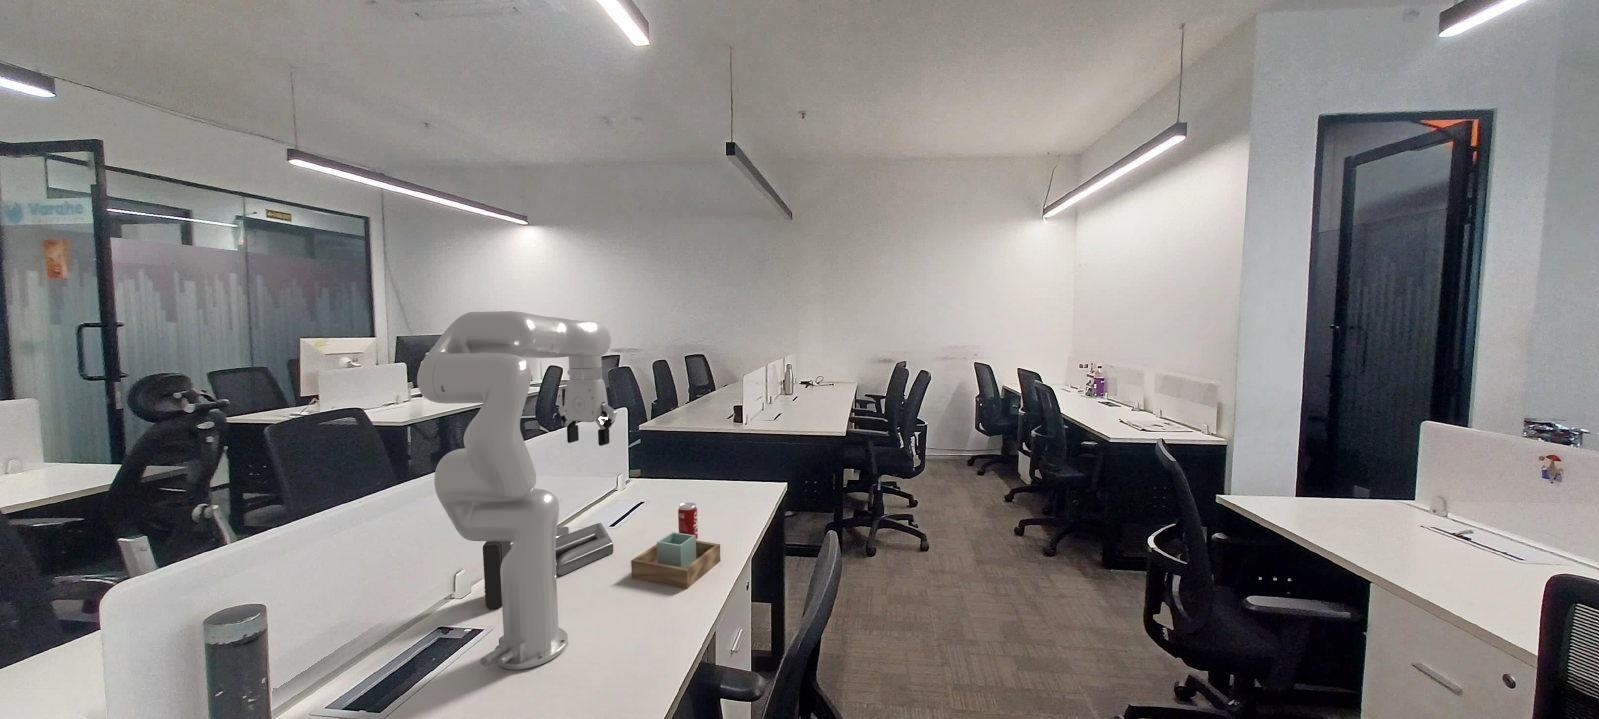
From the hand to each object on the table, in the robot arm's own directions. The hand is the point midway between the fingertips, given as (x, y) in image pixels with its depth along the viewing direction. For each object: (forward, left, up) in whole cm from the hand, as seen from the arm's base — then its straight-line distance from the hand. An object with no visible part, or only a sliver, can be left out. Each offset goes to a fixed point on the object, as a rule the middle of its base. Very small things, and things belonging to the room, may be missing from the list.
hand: (588, 443), depth 135 cm
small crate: (+9, -19, -32) cm, 39 cm away
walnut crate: (+9, -19, -33) cm, 39 cm away
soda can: (+22, -14, -34) cm, 42 cm away
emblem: (+6, +16, -34) cm, 38 cm away
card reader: (-18, +11, -34) cm, 40 cm away
